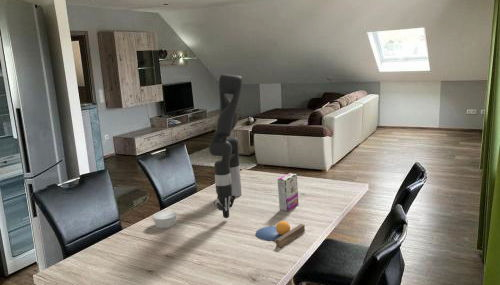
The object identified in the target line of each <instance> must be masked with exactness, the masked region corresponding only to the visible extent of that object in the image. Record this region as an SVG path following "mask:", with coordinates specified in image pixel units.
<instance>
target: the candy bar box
mask: <svg viewBox="0 0 500 285" xmlns="http://www.w3.org/2000/svg"><path fill="white" fill-rule="evenodd" d="M298 189H299V188H298V175H297V173H291V172H289V173H287V174H285V175H283V176H281V177H279V178H277V191H278V204H279V205H278V206H279V210H280V211H282V212H289V211H290V210H292V209H293V208H296V207H297V206H299V205H300V203H299V192H298Z"/></svg>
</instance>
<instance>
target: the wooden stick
mask: <svg viewBox="0 0 500 285" xmlns="http://www.w3.org/2000/svg"><path fill="white" fill-rule="evenodd" d="M305 227H306V226H305V224H303V223H299V225H297V226H295V227H293V228H292V229H290V231H289V232H287V233H286V234H284V235H282V236H281V237H279V238H278V239H276V240H275V245H276V246H275V247H277V248H280V249H281V248H283V247H284V246H286V245H287V244H288V243H290V242H291V241H293V240H294V239H296V238H297V237H299V236H301V235H302V234H304V233H305V231H306V230H305Z"/></svg>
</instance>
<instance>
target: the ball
mask: <svg viewBox="0 0 500 285" xmlns="http://www.w3.org/2000/svg"><path fill="white" fill-rule="evenodd" d="M275 226H276V230H277V232H278V234H280V235H284V234H286V233H287V232H289V231H290V230H291V226H290V224H289V223H288V222H287V221H284V220H280V221H279V222H278V223H276V225H275Z"/></svg>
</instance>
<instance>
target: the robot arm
mask: <svg viewBox="0 0 500 285" xmlns="http://www.w3.org/2000/svg"><path fill="white" fill-rule="evenodd" d="M243 84H244V81H243V77H242V76H241V75H237V74H235V75H234V74H229V73H222V74H221V75H220V76H219V80H218V95H219V112H218V114H219V116H218V117H217V118H218V119H217V123H216V129H215V131H214V133H213V136H212V138H211V139H210V143H209V145H208V150H209V151H208V152H209V153H210V155H212V156H215V157H216V156H217V157H219V156H220V157H221V159H220V160H217V161H215V162H214V181H215V193H216V194H217V197H216V201H214V202H213V205H214V206H215V207H216V208H217V209H218V211H220V212H221V211H222V216H223V218H224V219H228V218H230V209H231V208H232V207H233V205H234V202H235V200H236V198H238V197H240V196H242V194H243V193H242V183H241V182H242V181H241V166H240V157H239V156H240V154H239V153H240V152H239V151H240V150H239V148H240V147H239V139H238V137H236V136H231V134H232V131H233V130H234V129H235V127H236V126H237V123H238V110H237V108H238V106H239V101H240V98H241V94H242V91H243V90H242V89H243V86H244V85H243ZM229 95H232V99H231V100H230V98H229ZM230 136H231V137H230Z"/></svg>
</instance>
